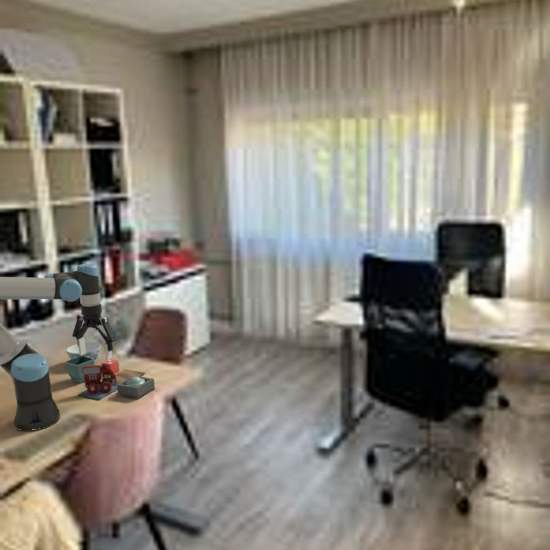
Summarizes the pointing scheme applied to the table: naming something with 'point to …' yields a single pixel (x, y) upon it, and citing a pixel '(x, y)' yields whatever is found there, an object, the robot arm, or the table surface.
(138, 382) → the dome cap
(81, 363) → the flower pot
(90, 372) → the toy fire truck
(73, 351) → the chinaware
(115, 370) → the die
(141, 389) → the dome housing
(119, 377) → the board
